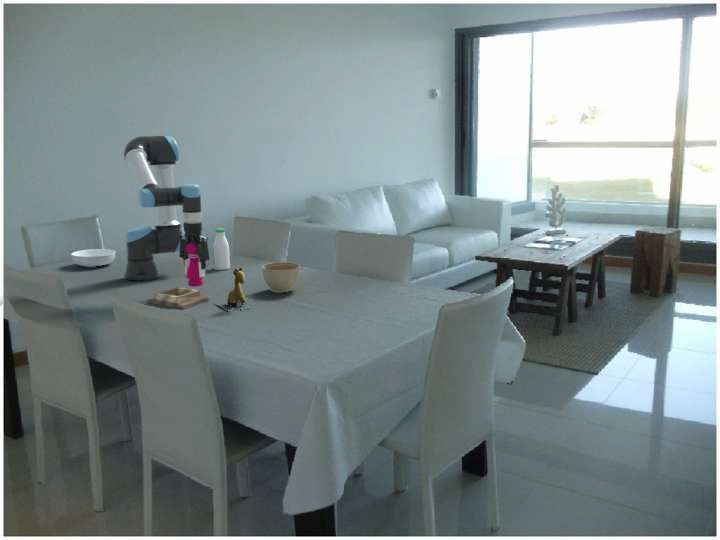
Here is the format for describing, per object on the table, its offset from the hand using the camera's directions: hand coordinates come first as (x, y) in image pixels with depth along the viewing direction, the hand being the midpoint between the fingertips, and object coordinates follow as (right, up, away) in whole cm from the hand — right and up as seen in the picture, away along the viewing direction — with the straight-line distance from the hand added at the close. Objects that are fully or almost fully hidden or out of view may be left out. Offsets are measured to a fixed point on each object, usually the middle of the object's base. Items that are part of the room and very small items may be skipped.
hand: (195, 275), depth 287 cm
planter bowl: (+36, -7, +4) cm, 37 cm away
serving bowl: (-65, +4, +56) cm, 86 cm away
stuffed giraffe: (+22, -12, -18) cm, 30 cm away
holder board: (-4, -11, -13) cm, 17 cm away
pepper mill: (0, -4, +1) cm, 4 cm away
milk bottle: (+2, +3, +48) cm, 48 cm away
